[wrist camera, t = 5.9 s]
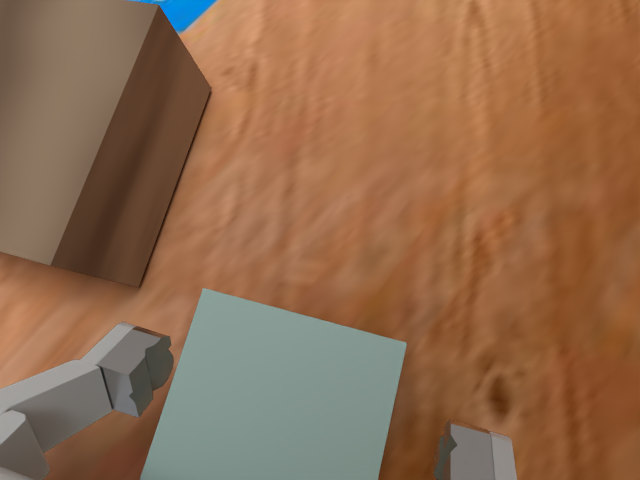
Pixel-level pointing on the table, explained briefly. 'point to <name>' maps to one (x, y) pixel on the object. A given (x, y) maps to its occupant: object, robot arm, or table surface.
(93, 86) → the walnut block
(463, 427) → the robot arm
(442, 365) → the table surface
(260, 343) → the sage block
